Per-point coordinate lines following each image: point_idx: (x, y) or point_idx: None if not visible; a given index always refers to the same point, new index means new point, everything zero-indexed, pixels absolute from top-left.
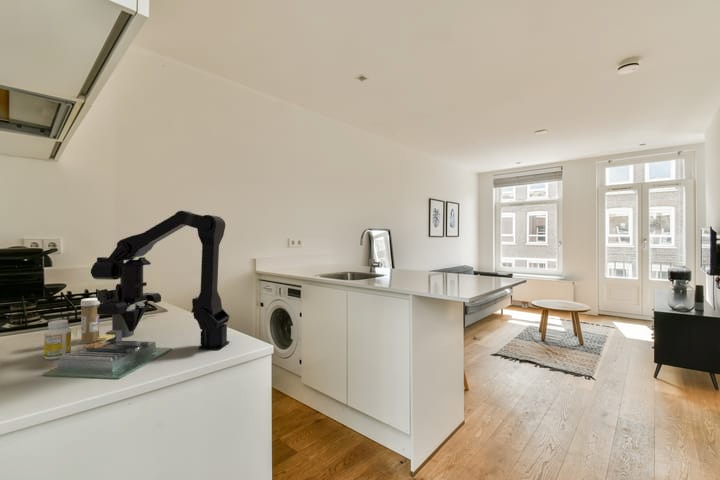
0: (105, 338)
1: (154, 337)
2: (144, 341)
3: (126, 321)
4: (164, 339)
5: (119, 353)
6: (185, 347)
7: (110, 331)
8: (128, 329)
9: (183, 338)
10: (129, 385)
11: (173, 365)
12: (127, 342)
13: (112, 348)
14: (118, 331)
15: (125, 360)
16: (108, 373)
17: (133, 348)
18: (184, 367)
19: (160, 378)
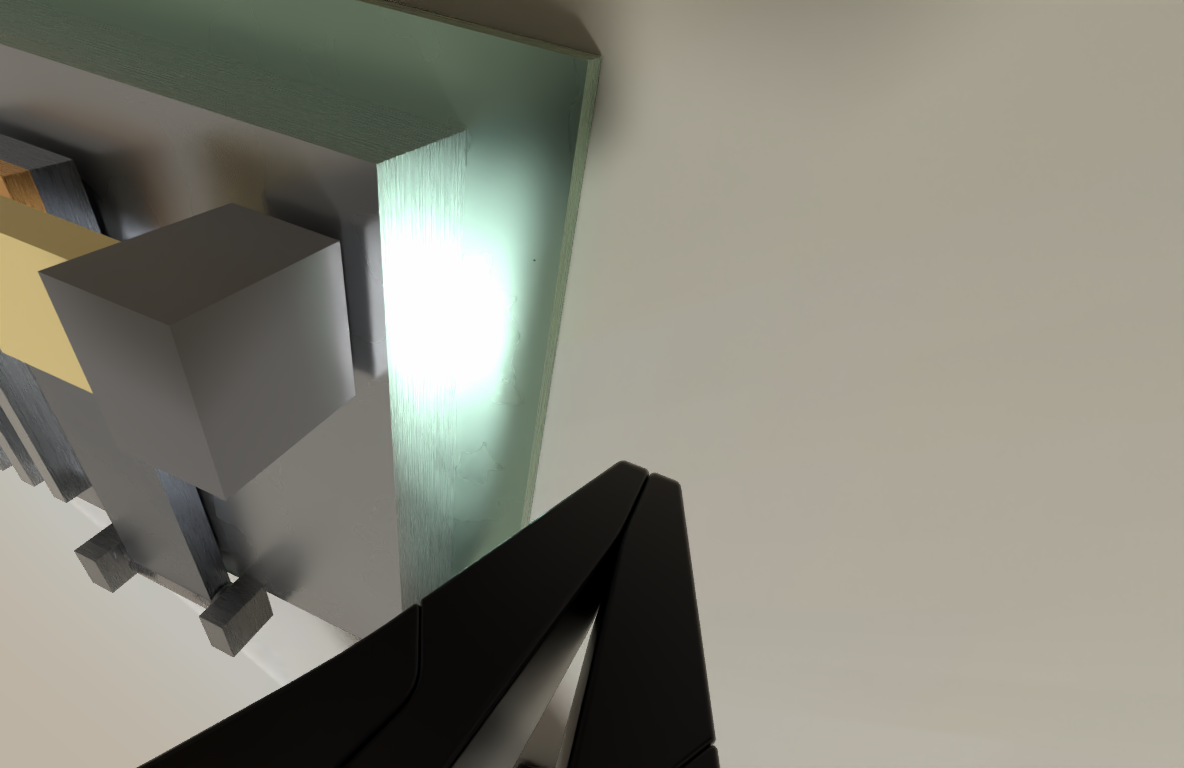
0: (11, 337)
1: (1071, 554)
2: (395, 594)
3: (419, 632)
4: (874, 642)
5: (59, 494)
6: (565, 721)
7: (99, 342)
8: (597, 476)
9: (845, 761)
10: (85, 507)
11: (293, 639)
12: (337, 461)
13: (67, 427)
14: (162, 469)
15: None
16: None
17: (100, 584)
18: (288, 668)
19: (176, 594)
